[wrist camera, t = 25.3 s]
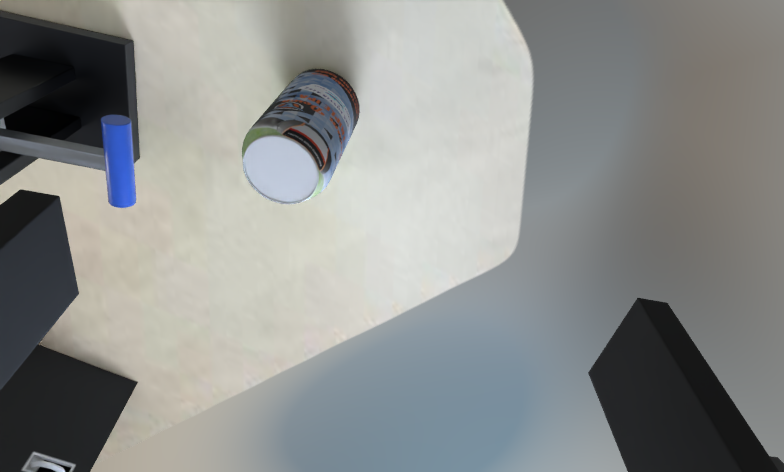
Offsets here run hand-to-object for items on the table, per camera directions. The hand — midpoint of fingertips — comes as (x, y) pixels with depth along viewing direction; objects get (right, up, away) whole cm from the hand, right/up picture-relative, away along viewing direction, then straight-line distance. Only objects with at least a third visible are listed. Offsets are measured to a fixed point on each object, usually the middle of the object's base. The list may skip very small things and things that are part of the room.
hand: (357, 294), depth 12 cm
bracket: (-26, +13, +28) cm, 40 cm away
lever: (-22, +8, +21) cm, 31 cm away
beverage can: (-5, +12, +29) cm, 32 cm away
